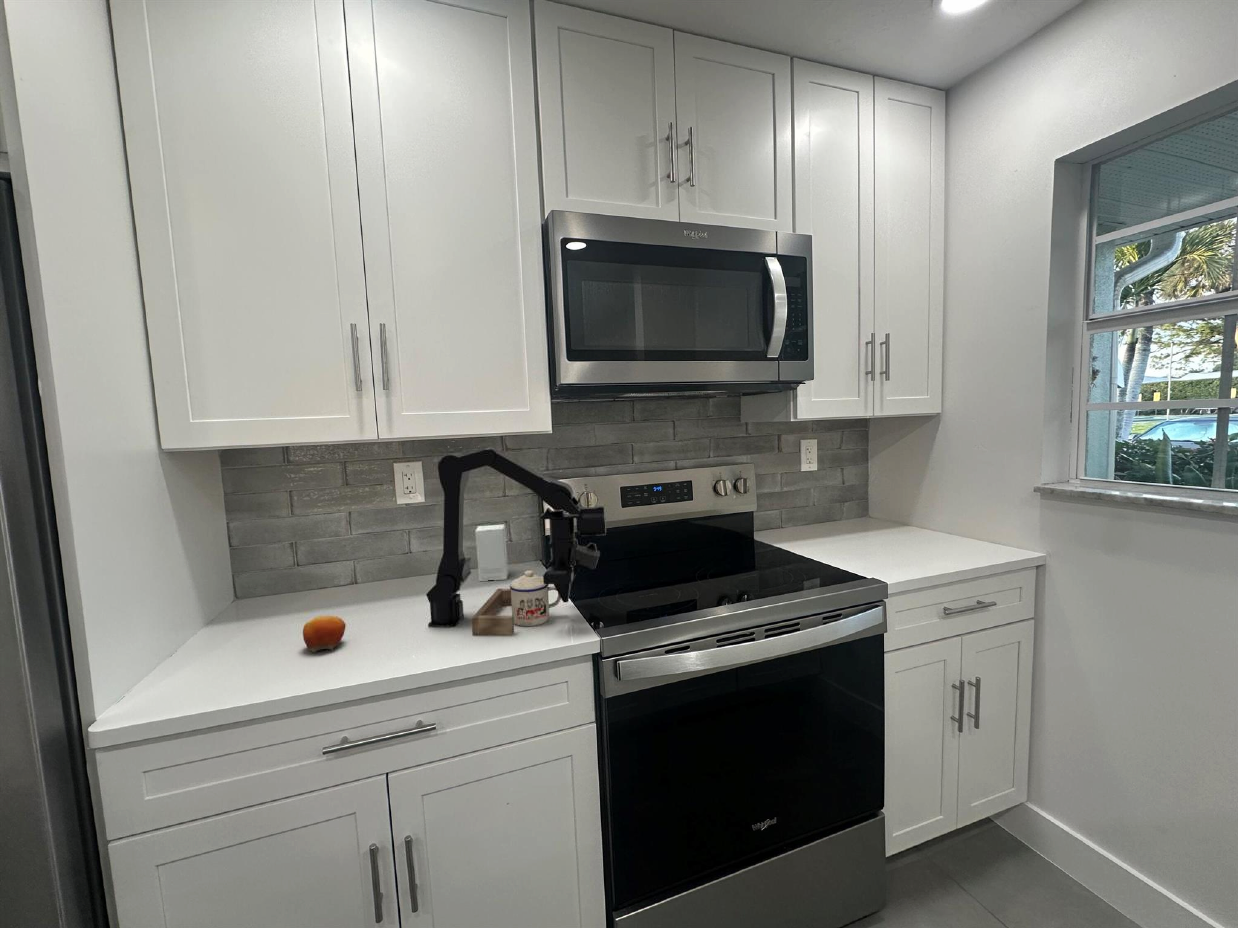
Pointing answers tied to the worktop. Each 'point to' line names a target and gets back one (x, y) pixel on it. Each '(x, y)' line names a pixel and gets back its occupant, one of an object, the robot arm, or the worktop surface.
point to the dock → (488, 622)
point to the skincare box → (491, 552)
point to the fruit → (323, 632)
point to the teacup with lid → (530, 600)
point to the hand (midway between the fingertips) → (565, 601)
